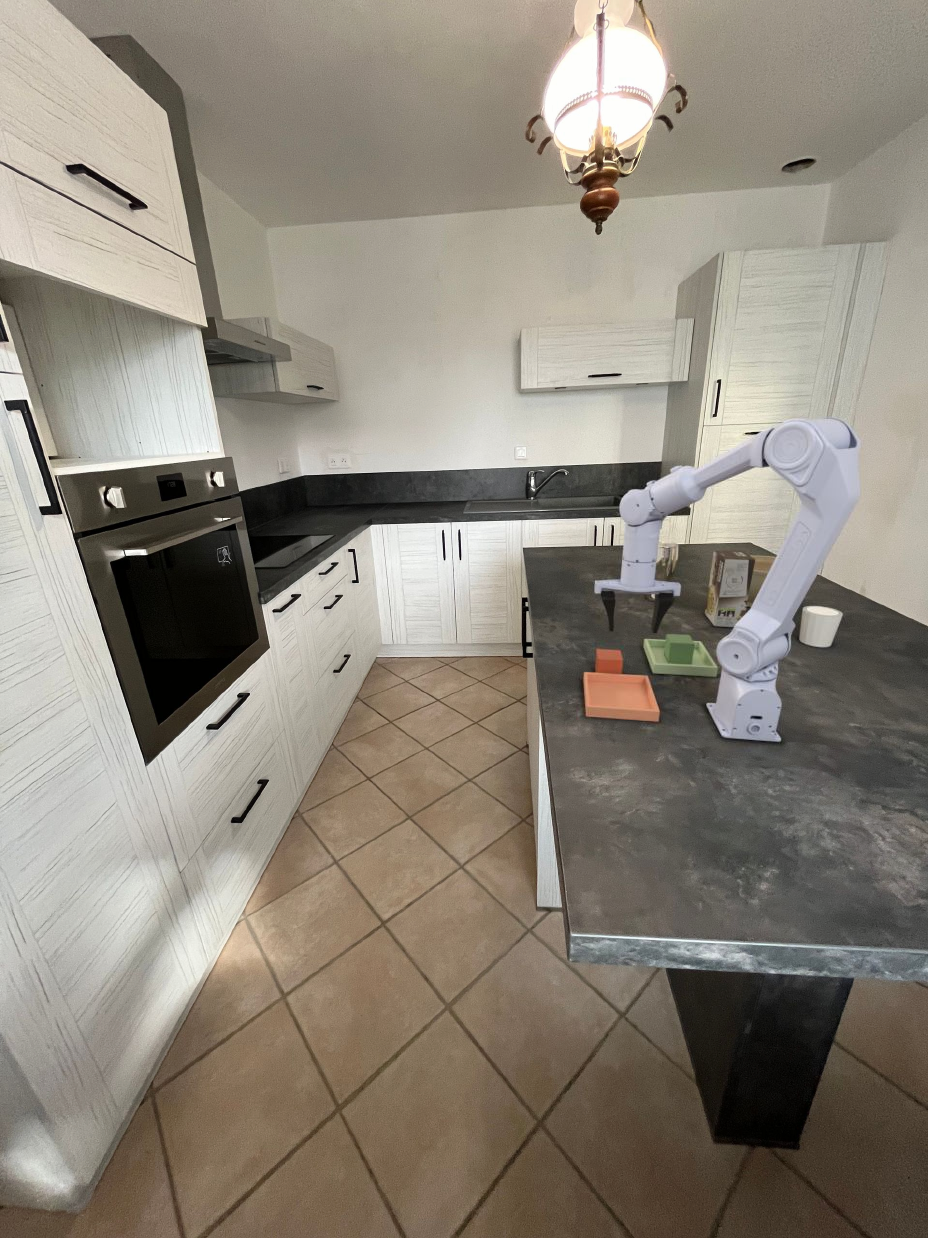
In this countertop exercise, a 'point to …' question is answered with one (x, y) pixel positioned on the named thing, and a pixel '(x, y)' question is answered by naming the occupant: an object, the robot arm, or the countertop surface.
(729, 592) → the coffee box
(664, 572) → the beer glass
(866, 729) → the countertop surface
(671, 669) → the sage tray
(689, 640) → the sage block
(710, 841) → the countertop surface
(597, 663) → the terracotta block
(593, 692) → the terracotta tray
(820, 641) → the white cup
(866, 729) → the countertop surface
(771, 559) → the planter bowl
